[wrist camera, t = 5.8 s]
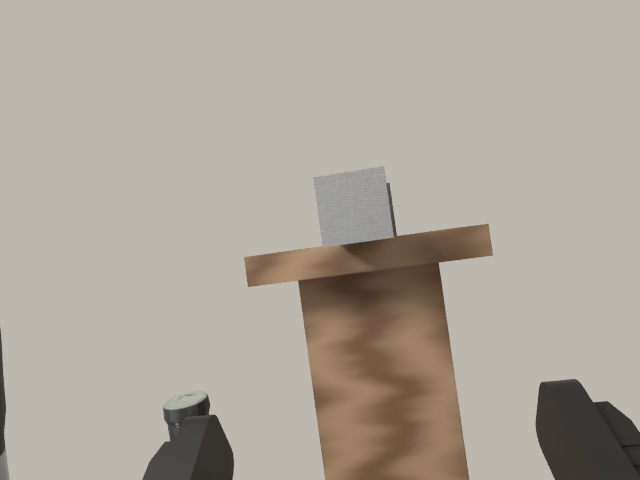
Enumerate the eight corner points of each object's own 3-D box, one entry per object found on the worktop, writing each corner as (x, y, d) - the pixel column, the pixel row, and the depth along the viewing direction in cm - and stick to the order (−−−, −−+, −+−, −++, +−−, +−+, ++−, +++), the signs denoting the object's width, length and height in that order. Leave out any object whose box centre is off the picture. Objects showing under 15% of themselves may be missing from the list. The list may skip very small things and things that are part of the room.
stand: (308, 734, 28) (244, 257, 29) (324, 606, 38) (276, 252, 39) (561, 733, 27) (488, 224, 27) (508, 599, 36) (456, 227, 37)
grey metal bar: (299, 250, 18) (287, 158, 18) (336, 244, 38) (330, 200, 38) (418, 234, 18) (404, 138, 18) (392, 236, 38) (386, 191, 38)
